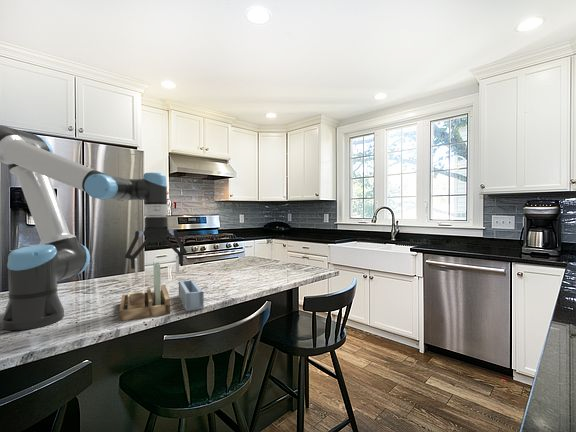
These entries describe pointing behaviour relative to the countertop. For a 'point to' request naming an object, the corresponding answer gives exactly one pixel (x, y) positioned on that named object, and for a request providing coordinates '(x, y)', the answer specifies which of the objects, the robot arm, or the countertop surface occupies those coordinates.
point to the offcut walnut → (137, 299)
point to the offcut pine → (135, 293)
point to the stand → (191, 295)
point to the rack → (146, 310)
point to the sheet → (157, 283)
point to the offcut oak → (135, 306)
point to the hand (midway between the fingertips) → (157, 275)
